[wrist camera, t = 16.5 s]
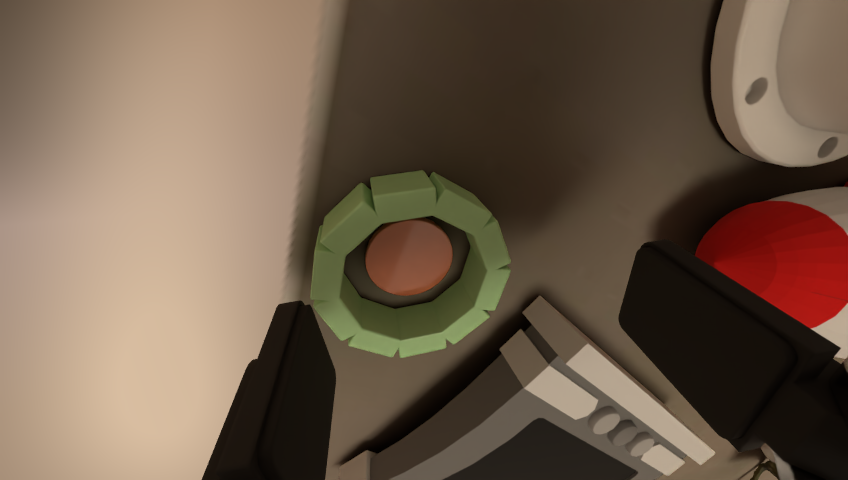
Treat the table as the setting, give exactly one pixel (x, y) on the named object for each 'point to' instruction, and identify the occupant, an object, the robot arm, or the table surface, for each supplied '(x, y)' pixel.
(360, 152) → the table surface
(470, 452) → the grey retro screen device
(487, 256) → the ring
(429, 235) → the copper round disc
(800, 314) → the toy
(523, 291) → the table surface
